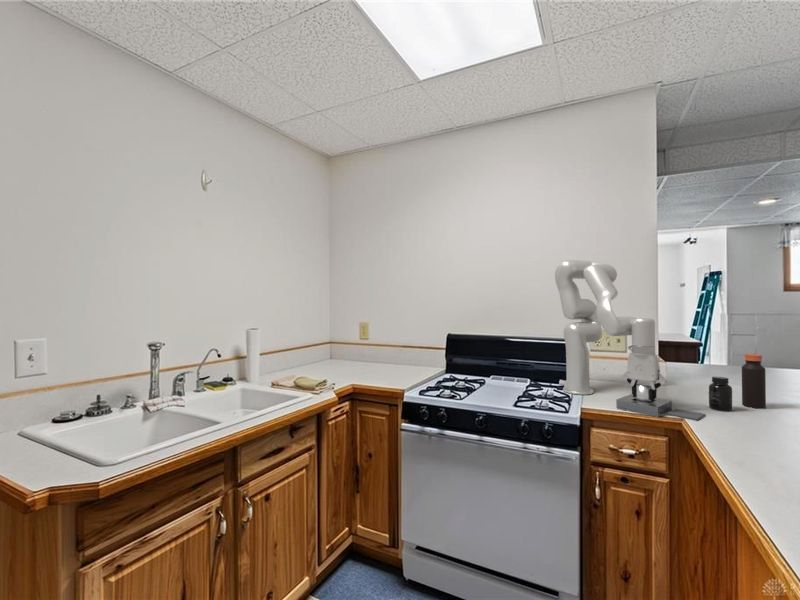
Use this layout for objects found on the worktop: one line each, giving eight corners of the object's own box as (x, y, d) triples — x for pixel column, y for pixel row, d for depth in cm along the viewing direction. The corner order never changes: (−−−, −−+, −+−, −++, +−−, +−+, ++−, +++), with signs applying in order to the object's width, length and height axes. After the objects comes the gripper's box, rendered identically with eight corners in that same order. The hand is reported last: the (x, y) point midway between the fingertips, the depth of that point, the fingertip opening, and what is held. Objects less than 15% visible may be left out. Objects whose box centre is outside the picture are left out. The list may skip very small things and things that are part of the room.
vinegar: (770, 409, 145) (769, 356, 145) (749, 408, 147) (748, 355, 147) (757, 404, 152) (757, 353, 152) (737, 403, 153) (737, 353, 153)
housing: (616, 408, 148) (616, 399, 148) (631, 402, 157) (631, 393, 157) (657, 417, 137) (657, 407, 137) (672, 409, 146) (672, 400, 146)
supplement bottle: (736, 412, 142) (736, 379, 142) (715, 411, 144) (715, 379, 144) (725, 407, 149) (724, 376, 149) (705, 406, 150) (704, 375, 150)
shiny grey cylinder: (633, 409, 148) (633, 384, 148) (639, 406, 151) (639, 382, 151) (649, 412, 143) (648, 387, 143) (654, 409, 147) (654, 385, 147)
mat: (666, 414, 140) (666, 413, 140) (675, 410, 145) (675, 408, 145) (697, 420, 133) (697, 419, 133) (705, 415, 138) (705, 414, 138)
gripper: (615, 349, 152) (615, 395, 152) (665, 353, 138) (666, 404, 138) (623, 347, 156) (624, 392, 156) (673, 351, 143) (673, 400, 143)
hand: (644, 397), depth 147 cm, fingers closed on shiny grey cylinder, 5 cm apart
